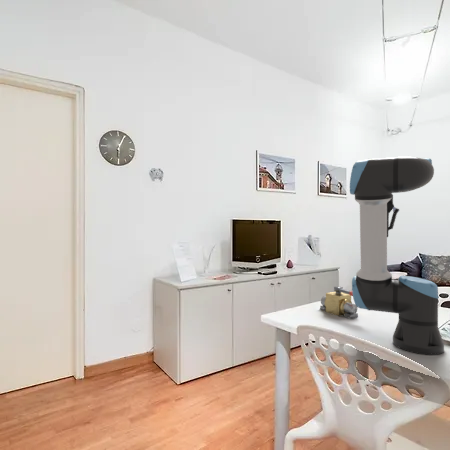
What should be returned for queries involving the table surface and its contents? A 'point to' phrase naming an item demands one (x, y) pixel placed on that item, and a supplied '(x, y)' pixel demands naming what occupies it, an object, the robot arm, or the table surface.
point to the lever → (343, 290)
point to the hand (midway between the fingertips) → (383, 244)
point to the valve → (339, 304)
